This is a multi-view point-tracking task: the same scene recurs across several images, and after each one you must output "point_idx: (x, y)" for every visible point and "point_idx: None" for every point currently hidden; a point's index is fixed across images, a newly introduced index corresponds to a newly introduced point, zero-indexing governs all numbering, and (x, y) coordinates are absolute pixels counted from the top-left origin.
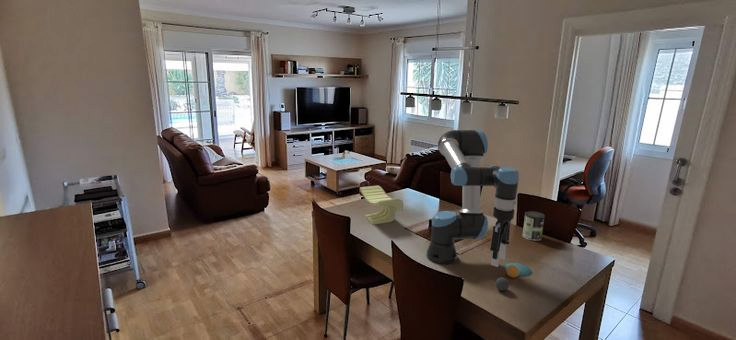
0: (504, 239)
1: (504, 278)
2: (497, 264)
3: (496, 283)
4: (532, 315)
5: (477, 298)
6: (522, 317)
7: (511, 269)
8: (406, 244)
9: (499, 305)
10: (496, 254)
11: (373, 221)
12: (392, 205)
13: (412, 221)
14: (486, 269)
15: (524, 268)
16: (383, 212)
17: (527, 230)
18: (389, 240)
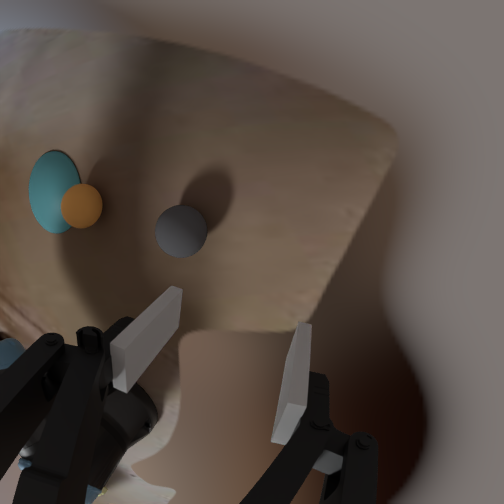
0: (96, 394)
1: (168, 231)
2: (309, 336)
3: (194, 253)
4: (310, 105)
5: (293, 298)
6: (342, 138)
7: (84, 212)
8: (126, 457)
9: (303, 222)
10: (328, 406)
11: (102, 491)
12: None
13: None
14: (99, 285)
15: (41, 175)
16: None
17: None
18: (137, 478)
